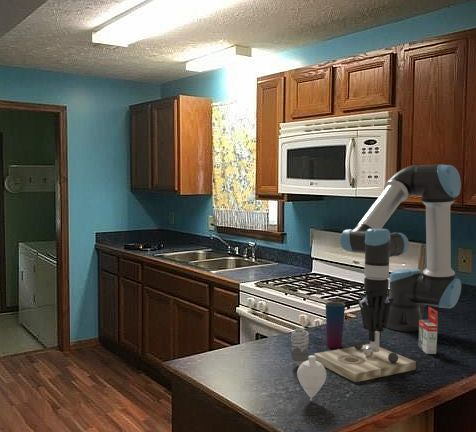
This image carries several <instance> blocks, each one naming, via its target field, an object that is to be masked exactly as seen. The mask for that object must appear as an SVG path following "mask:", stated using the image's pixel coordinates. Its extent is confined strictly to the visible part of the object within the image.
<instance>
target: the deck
mask: <svg viewBox="0 0 476 432" xmlns="http://www.w3.org/2000/svg"><path fill="white" fill-rule="evenodd" d="M366 347H370V343H367V344H363V347H362V348H361V349H356V348H355V347H354V346H351V347H344V348H337V349H333V350H326V351H321V352H316V353H314V354H313V356H315V357H316V360H315V361H317V362H320V363H321V364H322V365H323V367H324V368H325V369H326V368H327V369H328V370H330V371H332V372H334V373H336V374H338V375H339V376H342V377H344V378H346V379H348V380H350V381H351V382H354V383H357V382H358V383H359V382H362V381H368V380H373V379H376V378H382V377H387V376H392V375H396V374H402V373H406V372H411V371H415V370H416V367H417V366H416V365H417V363H416V361H415V360H413V359H410V358H407V357H405V356H402V355H400V354H398V353H396V354H397V355H398V361H397V362H395V363H392V362H390V361H389V359H388V355H389V354H390V353H394V352H393V351H390V350H388V349H386V348H384V347H380V346H379V352H374V354H373V356H371V357H367V356H365V355H364V352H363V351H364V348H366Z"/></svg>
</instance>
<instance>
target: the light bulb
mask: <svg viewBox="0 0 476 432" xmlns="http://www.w3.org/2000/svg"><path fill="white" fill-rule="evenodd" d="M290 335H291V336H290V338H291V339H290V341H291V346H292V349H290V353H291V360H292V361H295V365H296V366H297V367H299V366H300V365H301V364H302V363H303V362H305V361H308V360H309V350H308V347H309V343H310V336H309V335H310V333H309V332H308V331H307V330H305V329H303V328H295V331H292V332H291V334H290Z"/></svg>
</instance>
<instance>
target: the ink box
mask: <svg viewBox="0 0 476 432" xmlns="http://www.w3.org/2000/svg"><path fill="white" fill-rule="evenodd" d="M427 309H428V312H427V314H428V319H422V320H419V331H418V339H417V340H418V341H417V347H418V348H419V349H420V350H421V351H423V353H424V354H426V355H436V354H437V346H438V345H437V344H438V343H437V341H438V328H439V327H438V325H439V323H438V321H439V311H437V310H436V309H434V308H432V306H428V308H427Z"/></svg>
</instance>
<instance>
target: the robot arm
mask: <svg viewBox="0 0 476 432" xmlns="http://www.w3.org/2000/svg"><path fill="white" fill-rule="evenodd" d="M461 189H462V181H461V176H460V172H459V171H458V169H457V168H456V167H455V166H453V165H451V164H421V165H420V164H414V165H409V166H406V167H404V168H402V169H400V170H399V171H398V172H396V173H395V174H394V175H392V176H391V177H390V178H389V179H388V180H387V181H386V183H385V184H384V186H383V191H382V192H381V194H380V195H379V196H378V198H377V199H376V200H375V201H374V202H373V204H372V205H371V206H370V207H369V209H368V210H367V212H366V213H365V214H364V216H363V217H362V218H361V219H360V221H359V222H358V223H357V224H356V226H355V227H354V228H353V229H344V230H343V231H342V233H341V234H340V239H339V240H340V241H339V242H340V243H339V244H340V247H341V249H343V250H344V251H348V252H352V253H361V254H364V274H363V275H364V276H365V277H364V279H363V288H364V292H365V293H364V295H363V298H362V300H360V299H358V301H357V304H358V306H359V308H360V315H361V319H362V321H361V322H362V325H363V330H364V329H365V330H367V331H368V341H369V344H370V347H371V348H372V349H373V350H374V352H379V347H380V341H381V338H382V334H381V333H382V332H384V330H385V329H387V328H388V329H390V330H394V331H397V332H398V331H399V332H410V333H411V332H413V333H414V332H419V320H423V319H422V314H421V309H420V304H421V305H424V306H425V305H426V306H429V307H437V308H440V309H441V308H442V309H452V308H454V307H455V306H456V305H457V304H458V301H459V299H460V296H461V292H462V282H461V279H460V278H457V277H456V272H455V271H454V270H453V268H452V267H451V266H452V264H451V263H452V262H451V261H452V260H451V258H452V256H451V254H452V253H451V248H452V246H451V243H452V242H451V239H452V238H451V207H452V206H451V205H452V204H454V202H455V199H456V198H457V197H458V196H459V195H460V193H461ZM412 196H414V197H415V196H416V197H419V196H420V197H421V201H420V202H421V203H422V204H423V205H424V206H425V233H426V234H425V237H426V240H425V242H426V243H425V244H426V246H425V247H426V268H424V269H423V270H421V269H419V268H404V269H396V270H393V271H391V273H390V258H391V257H398V256H401V255H403V254H405V253H406V252H407V251H408V249H409V246H410V243H409V239H408V237H407V236H406V235H405V234H404V233H402V232H390V230H389V229H388V228H383V227H384V226H385V224H386V223H387V222H388V220H389V219H390V218H391V216H392V215H393V214H394V213H395V211H396V209H397V208H398V207H399V205H400V204H401V203H402V202H405V201H406V200H408V197H412ZM388 290H389V295H388V292H387V291H388Z"/></svg>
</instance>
